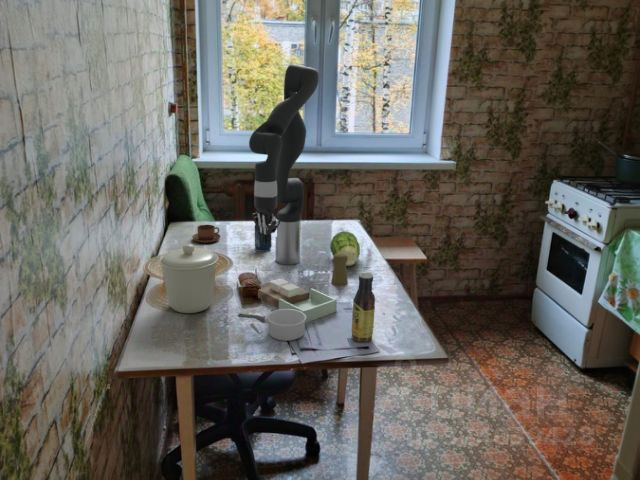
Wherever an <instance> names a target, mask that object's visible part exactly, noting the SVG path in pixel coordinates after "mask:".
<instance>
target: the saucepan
mask: <svg viewBox="0 0 640 480" xmlns="http://www.w3.org/2000/svg"><path fill="white" fill-rule="evenodd" d="M237 317H238V318H246V319H255V320H257V321H259V322H260V323H262V324H268V328H267V329H268V331H267V332H268V334H269V336H270V337H272V338H274V339H276V340H279V341H288V342H289V341H294V340H297V339H299V338H300V339H301V337H303V336H304V335H305V333H306V323H305V320H306V315H305V314H304V313H303V312H301V311H298V310H294V309H274V310H273V311H270V312H269V313H268V314H267V316H266V315H258V314H249V313H238V314H237Z"/></svg>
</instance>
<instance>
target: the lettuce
mask: <svg viewBox="0 0 640 480" xmlns="http://www.w3.org/2000/svg"><path fill="white" fill-rule="evenodd" d="M329 246H330V247H329V248H330V252H331V254H332V257H334V255H335V254H337V253H344V254H346V255H347V257H348V261H347V263H346V267H350V266H352V265H355V264H356V263H357V261H358V260H359V258H360V256H361V255H360V254H361V253H360V252H361V248H360V247H361V246H360V244H359V241H358V238H357V236H356V235H354V234H353V233H352V232H349V231H339V232H337V233H336V234H335V235H334V236H333V237H332V239H331V241H330V244H329Z"/></svg>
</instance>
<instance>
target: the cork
mask: <svg viewBox="0 0 640 480" xmlns="http://www.w3.org/2000/svg"><path fill="white" fill-rule="evenodd" d="M332 260H333V262H334V264H333V270H332V275H331V281H330V283H331V284H332V285H333V286H336V287H337V286H338V287H341V286H342V287H343V286H346V285H348V283H349V281H348V271H347V266H346V263H347V261H348V257H347V255H346V254H344V253H337V254H335V255H334V256H332Z"/></svg>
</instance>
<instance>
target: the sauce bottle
mask: <svg viewBox="0 0 640 480" xmlns="http://www.w3.org/2000/svg"><path fill="white" fill-rule="evenodd" d="M373 282H374V275H373V274H372V273H368V272H363V273H360V274H359V275H358V288H357V291H356V293H355V295H354V298H353V302H352V303H353V304H352V314H351V315H352V316H351V317H352V319H351V338H352V339H353V340H354V341H356V342H362V343H367V342H369V341H371V340H372V337H373V334H374V322H375V309H376V308H375V307H376V306H375V304H376V296H375V293H374V292H373Z"/></svg>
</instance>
